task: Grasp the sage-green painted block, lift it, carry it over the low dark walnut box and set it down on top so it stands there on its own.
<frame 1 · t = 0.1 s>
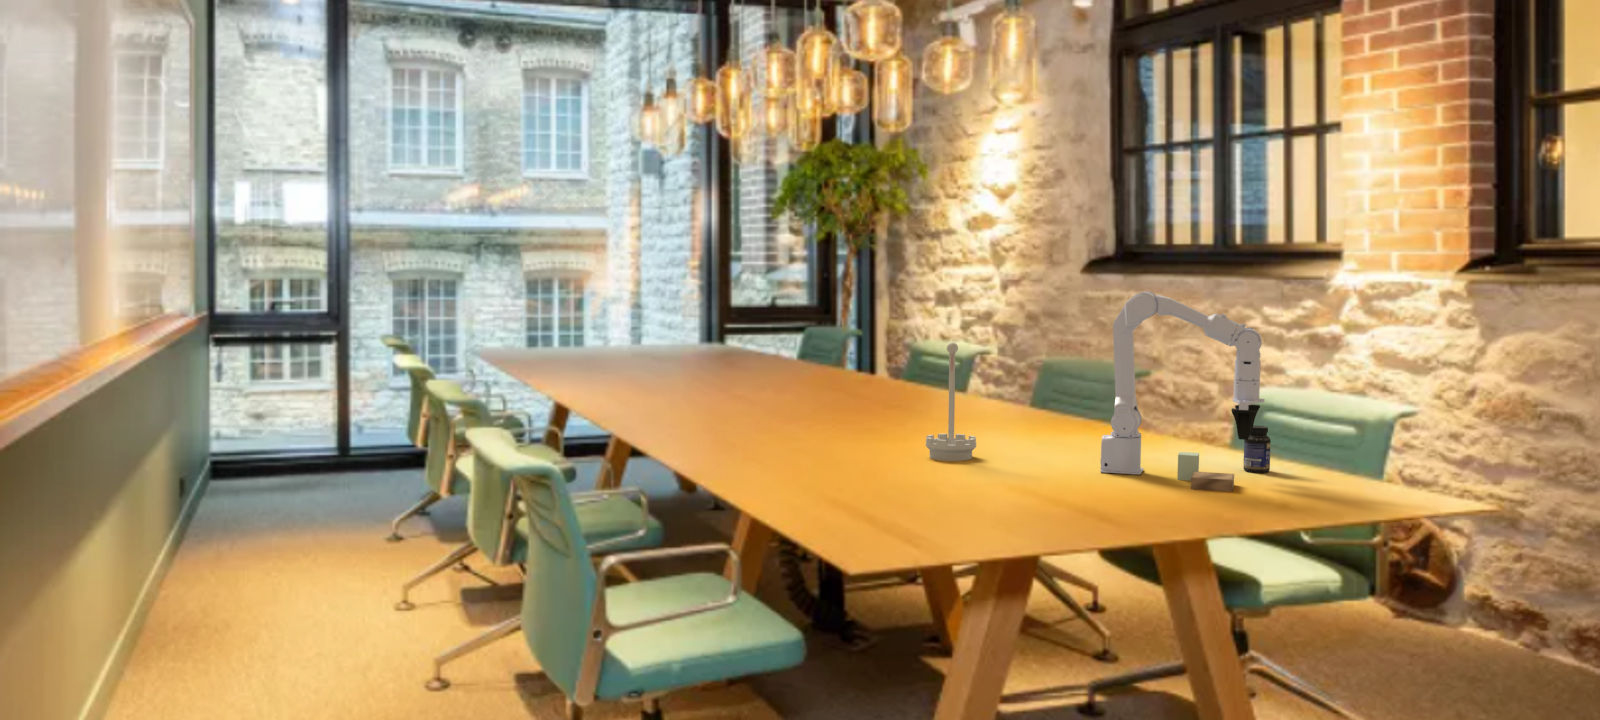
hand: (1244, 437, 307), 10 cm above the table, fingers open, 7 cm apart
pill bottle: (1256, 471, 319), on the table
flag stand: (950, 458, 338), on the table
sage block: (1187, 478, 308), on the table
walnut box: (1212, 488, 298), on the table
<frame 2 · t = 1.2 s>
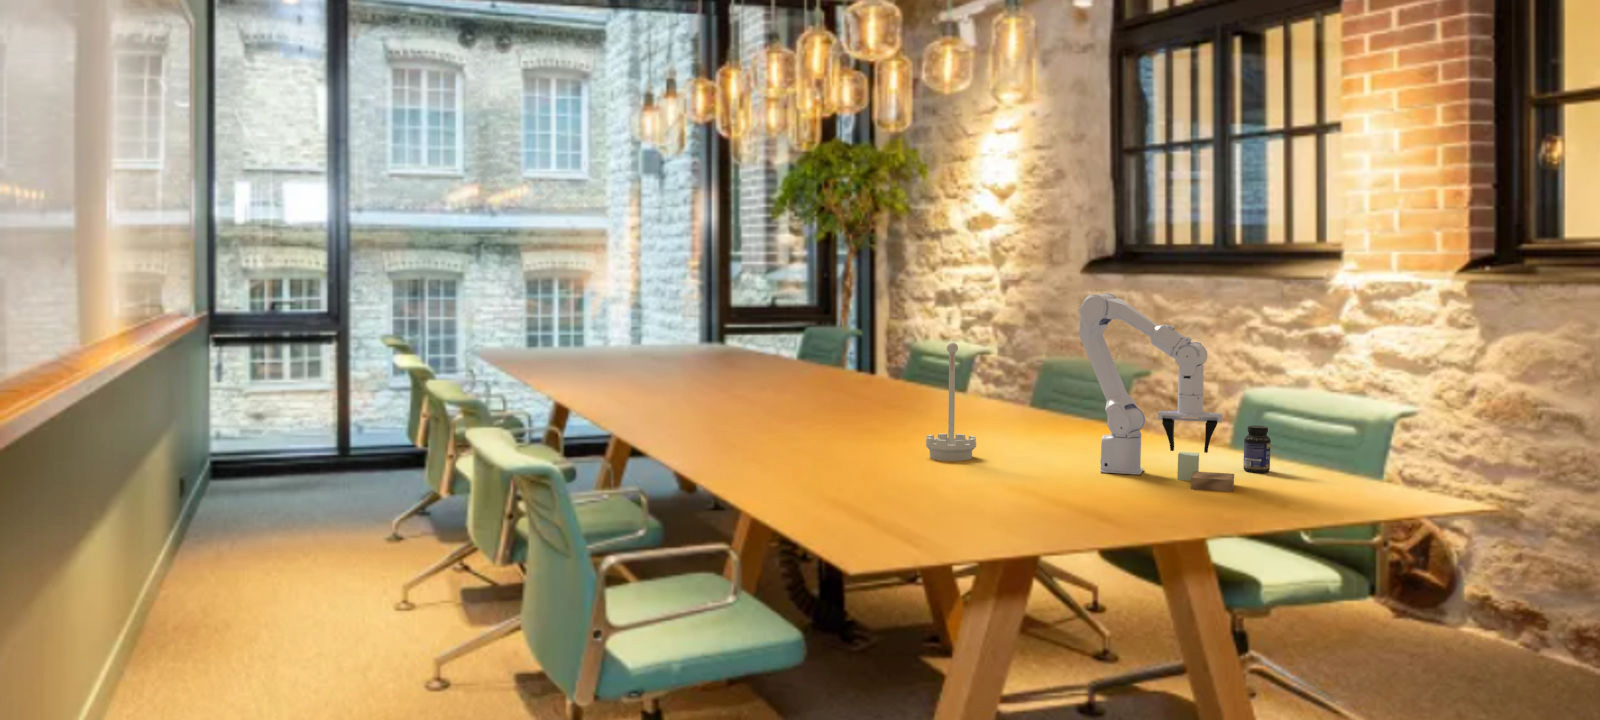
hand: (1189, 451, 308), 7 cm above the table, fingers open, 7 cm apart
nothing on the table moved.
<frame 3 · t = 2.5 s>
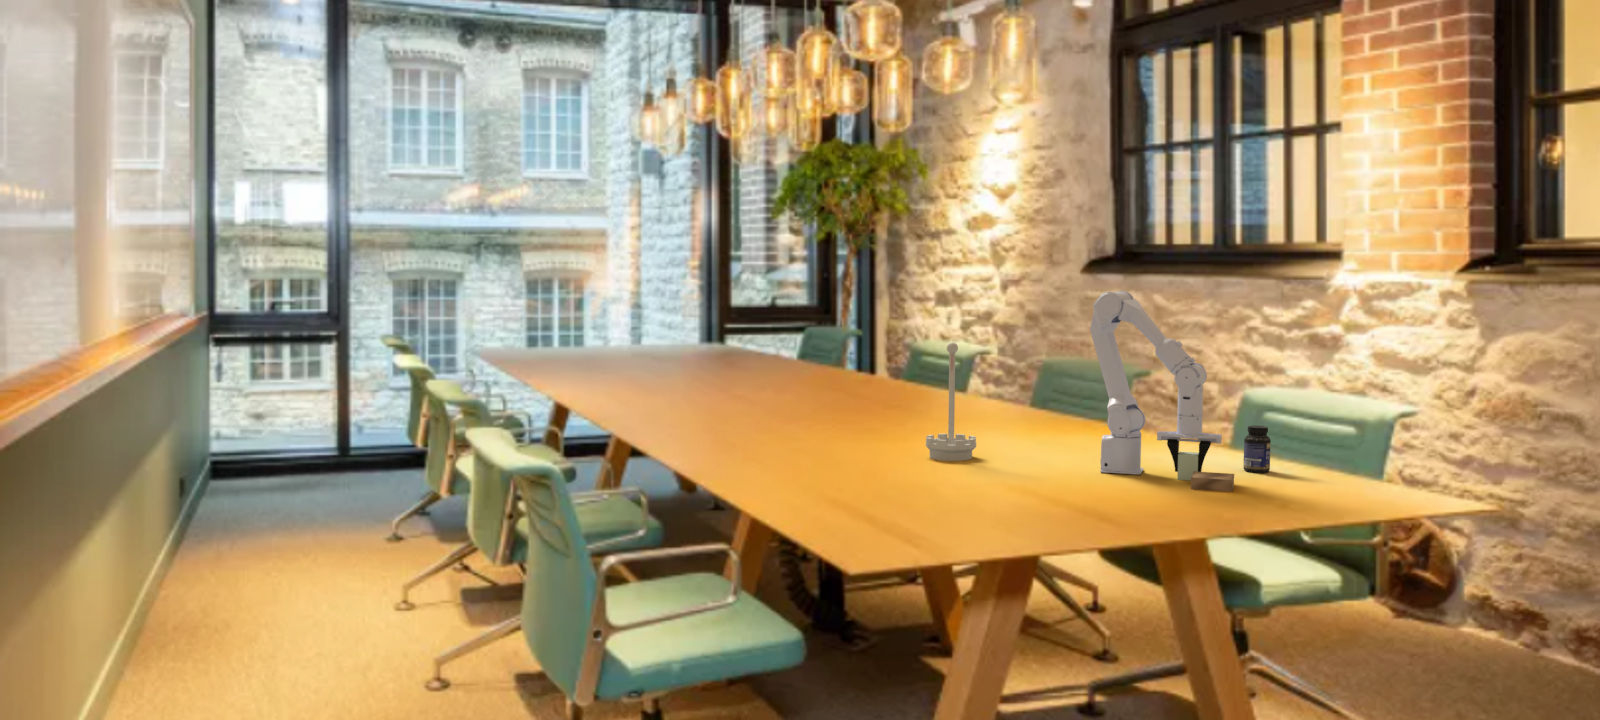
hand: (1188, 471, 308), 2 cm above the table, fingers closed on sage block, 4 cm apart
sage block: (1187, 478, 308), on the table, touching gripper
everything else where it was.
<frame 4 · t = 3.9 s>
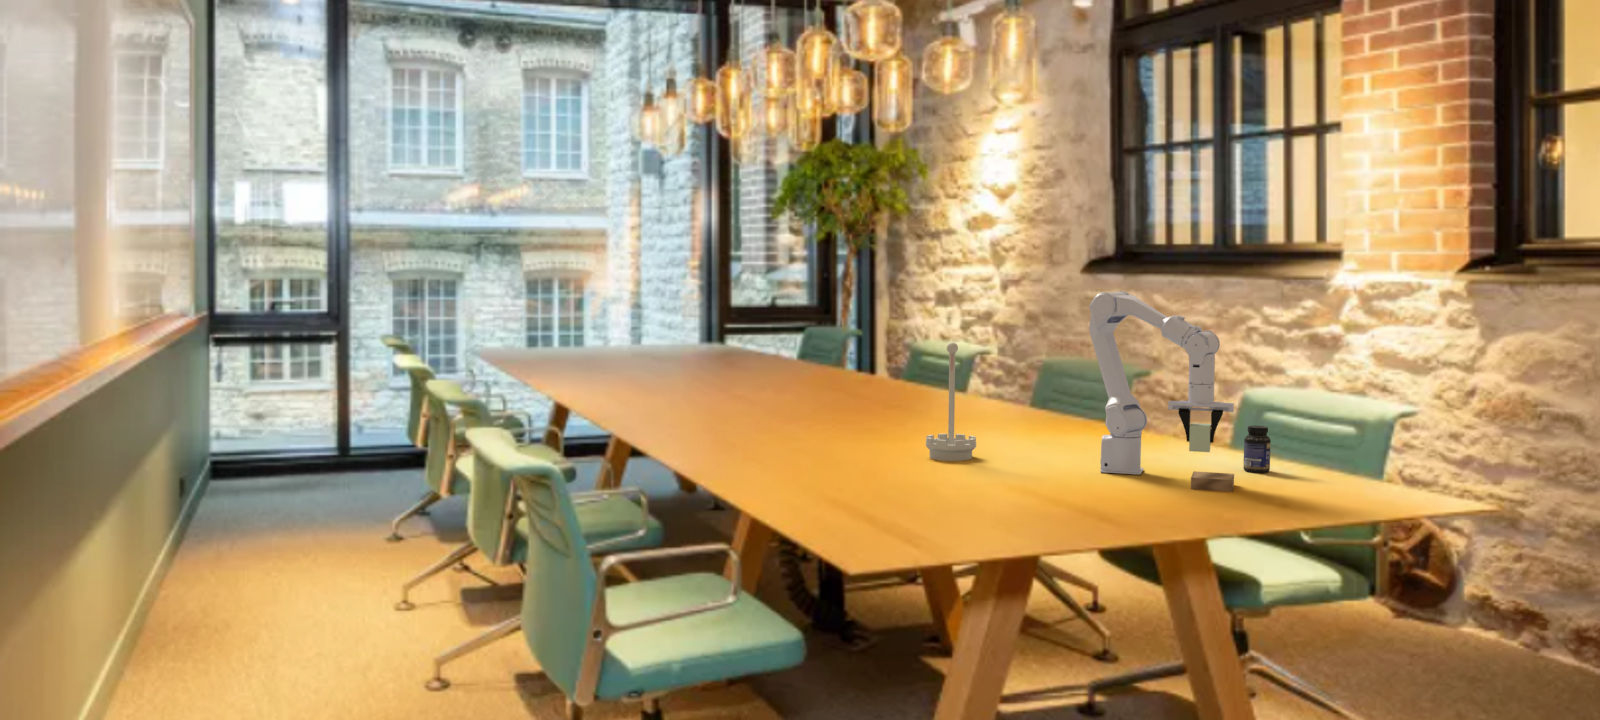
hand: (1200, 441, 303), 10 cm above the table, fingers closed on sage block, 4 cm apart
sage block: (1199, 450, 303), point 7 cm above the table, touching gripper
everything else where it was.
when the fingers open (6 cm above the table, at t = 5.6 s): sage block stays where it is, resting on walnut box.
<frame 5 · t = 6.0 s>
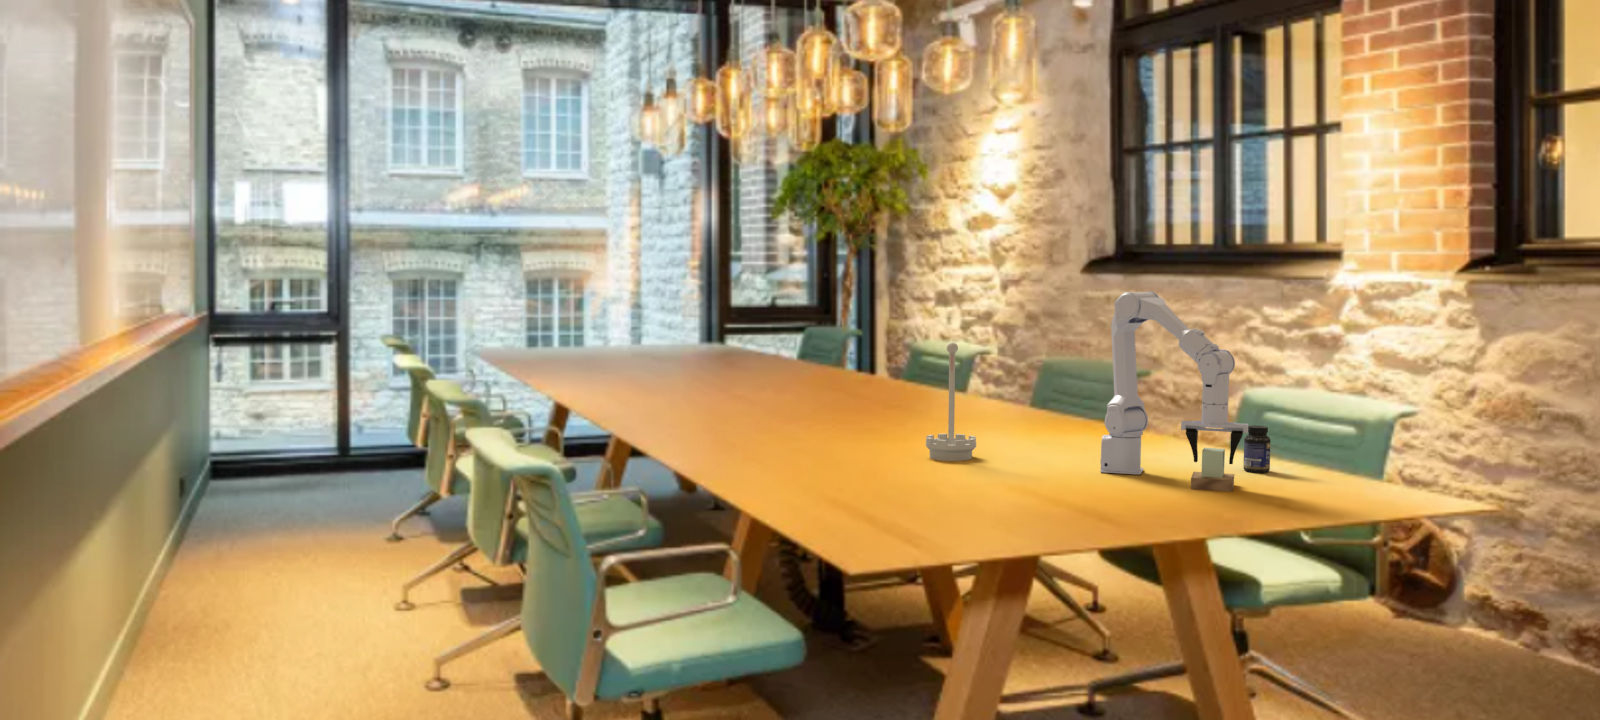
hand: (1213, 462, 297), 6 cm above the table, fingers open, 7 cm apart
sage block: (1212, 475, 298), point 3 cm above the table, touching walnut box
walnut box: (1212, 489, 298), on the table, touching sage block
everything else where it was.
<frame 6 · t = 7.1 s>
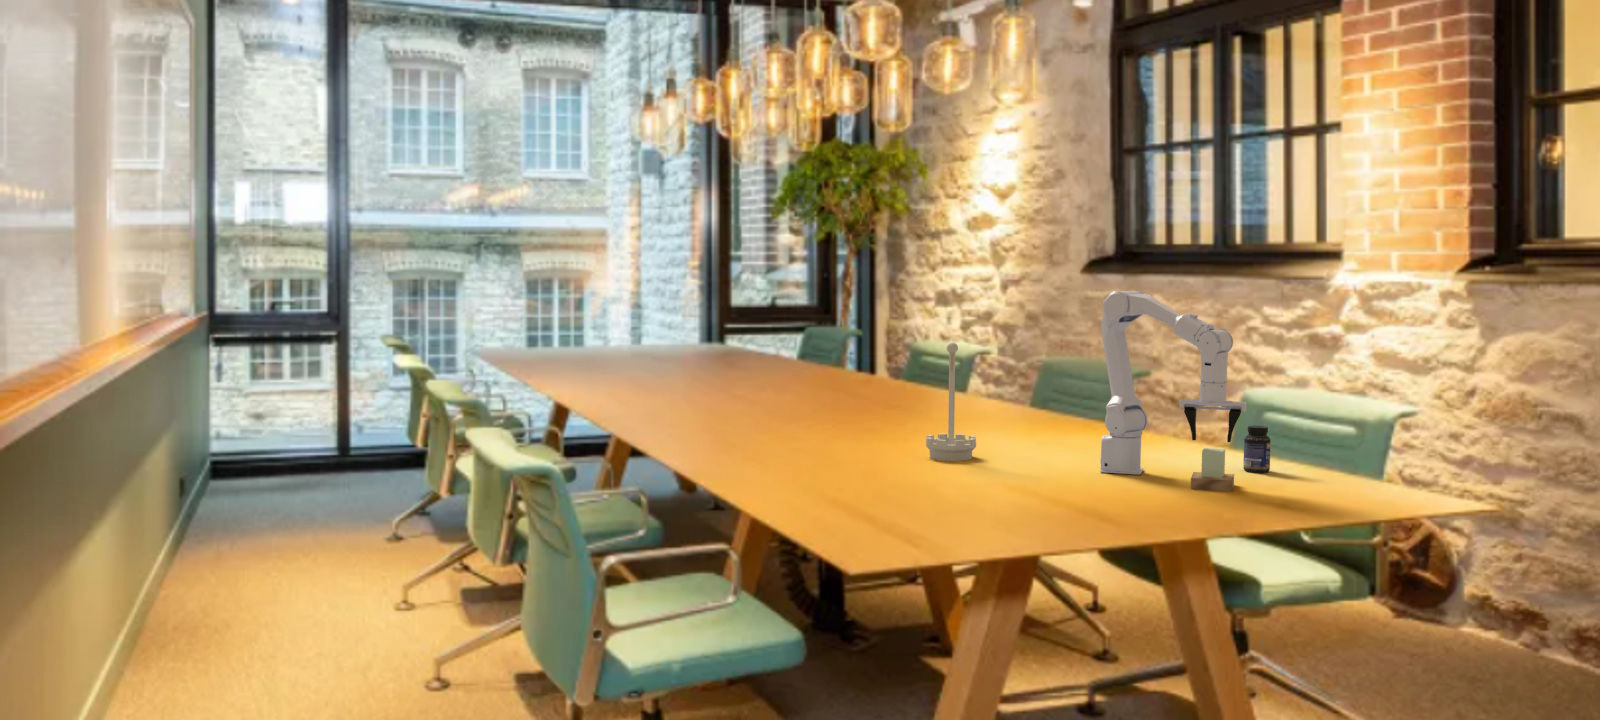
hand: (1211, 440, 299), 10 cm above the table, fingers open, 7 cm apart
nothing on the table moved.
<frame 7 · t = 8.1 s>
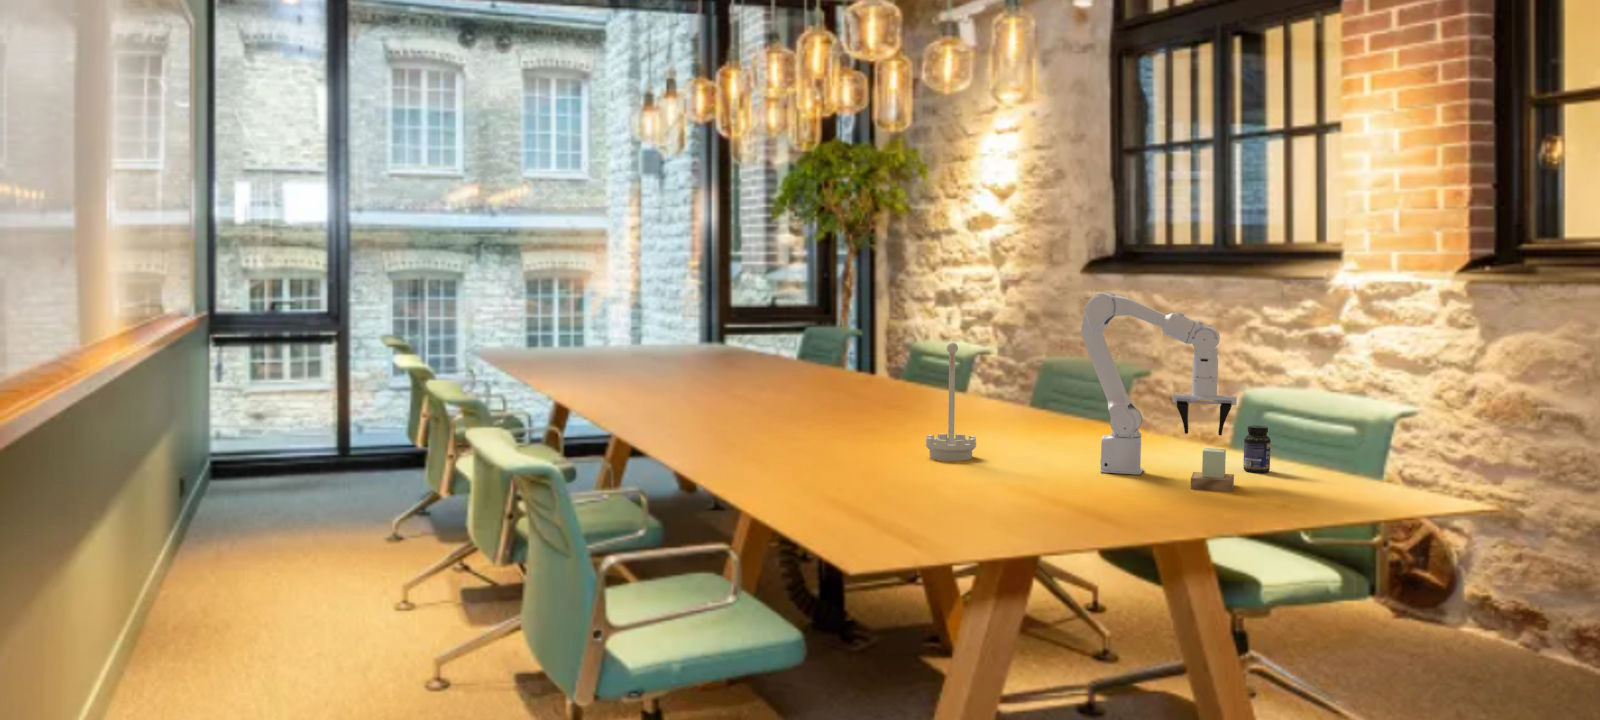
hand: (1203, 434, 309), 10 cm above the table, fingers open, 7 cm apart
nothing on the table moved.
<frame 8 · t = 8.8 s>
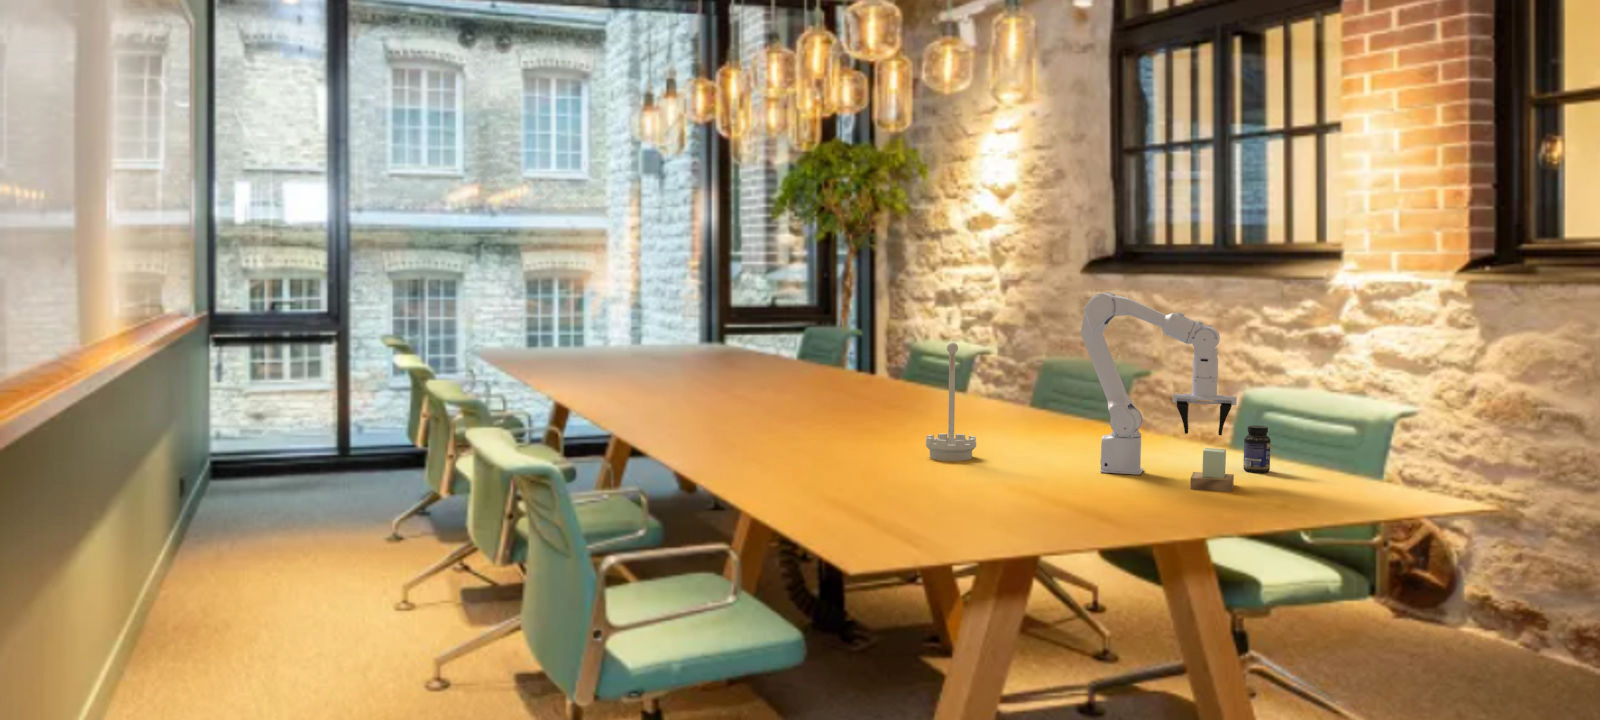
hand: (1203, 434, 309), 10 cm above the table, fingers open, 7 cm apart
nothing on the table moved.
at the end: sage block 0.3 cm off-centre on the walnut box, point 3.1 cm above the walnut box's base; sage block tilted 1°; the gripper is holding nothing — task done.
